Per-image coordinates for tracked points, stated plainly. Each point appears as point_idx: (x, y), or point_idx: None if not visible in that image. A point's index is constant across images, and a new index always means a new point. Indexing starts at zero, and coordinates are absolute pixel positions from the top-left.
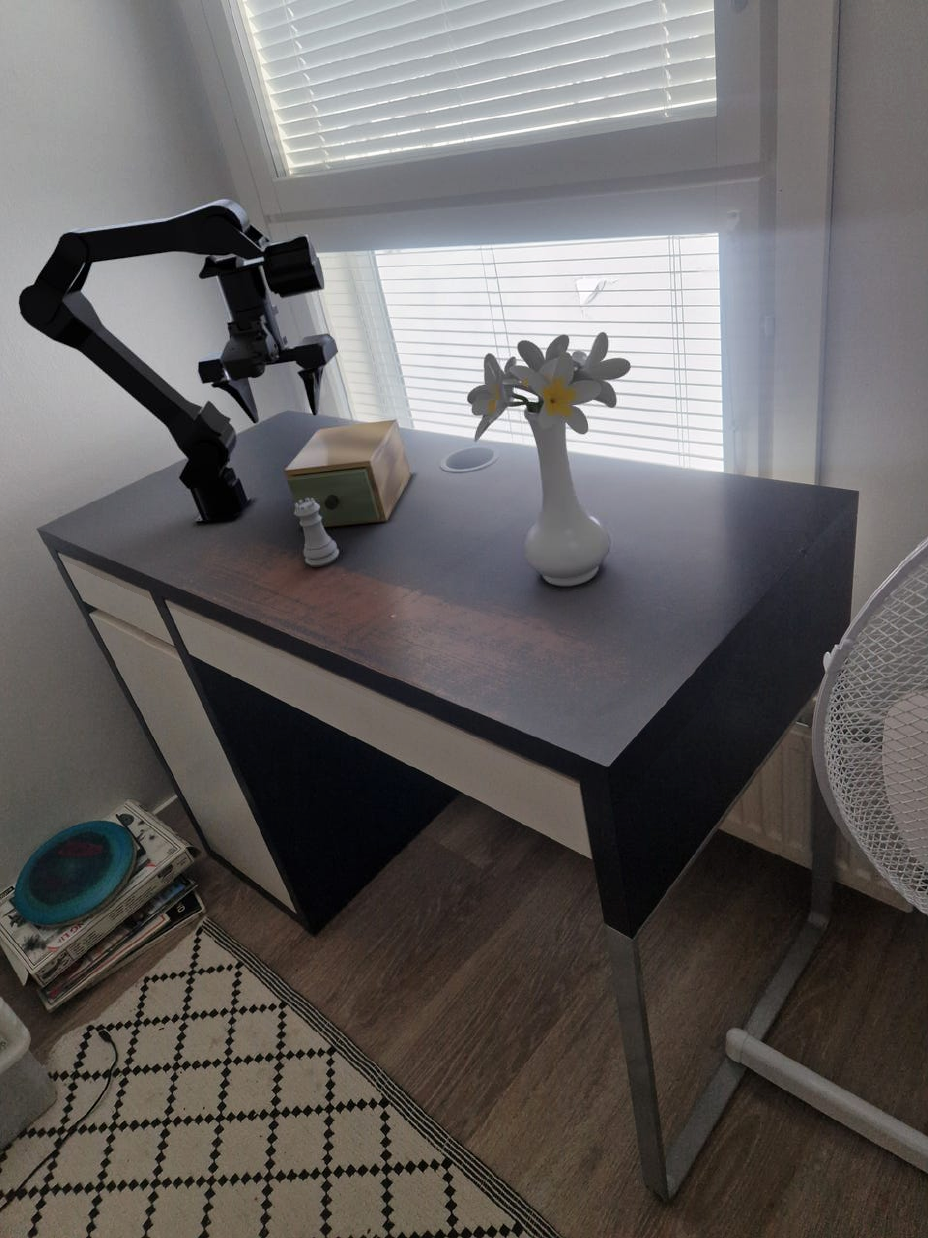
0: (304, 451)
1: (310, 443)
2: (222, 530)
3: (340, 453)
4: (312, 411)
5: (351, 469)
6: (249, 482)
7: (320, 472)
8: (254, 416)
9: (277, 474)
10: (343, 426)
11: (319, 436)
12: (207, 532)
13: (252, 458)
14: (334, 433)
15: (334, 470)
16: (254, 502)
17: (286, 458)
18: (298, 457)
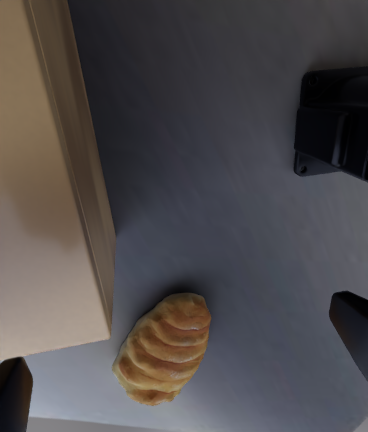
0: (32, 146)
1: (59, 228)
2: (319, 19)
3: None
4: (3, 373)
5: None
6: (324, 252)
7: None
8: (355, 318)
9: (275, 280)
10: (7, 355)
11: (62, 287)
12: (357, 13)
13: None
14: (4, 307)
15: None
16: (283, 166)
17: (280, 332)
18: (18, 72)
